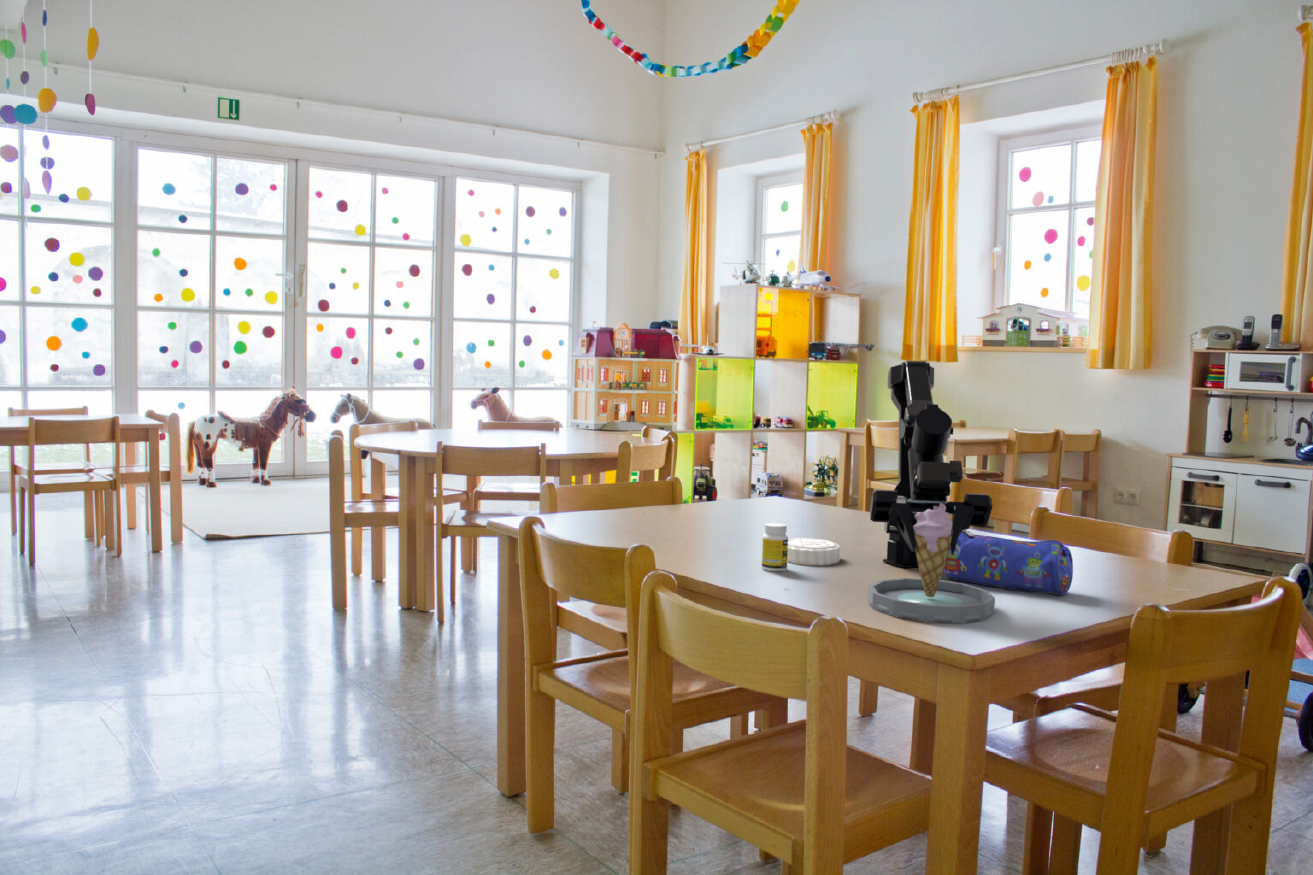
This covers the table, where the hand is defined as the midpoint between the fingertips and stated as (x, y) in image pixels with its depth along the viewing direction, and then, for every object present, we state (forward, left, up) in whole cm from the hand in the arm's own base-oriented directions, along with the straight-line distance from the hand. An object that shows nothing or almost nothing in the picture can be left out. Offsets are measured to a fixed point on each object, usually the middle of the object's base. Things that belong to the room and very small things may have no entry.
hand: (933, 551), depth 152 cm
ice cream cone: (-1, -1, -8) cm, 8 cm away
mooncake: (-5, -40, -10) cm, 41 cm away
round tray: (-1, -1, -9) cm, 9 cm away
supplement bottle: (+7, -34, -9) cm, 36 cm away
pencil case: (-24, -8, -10) cm, 27 cm away
